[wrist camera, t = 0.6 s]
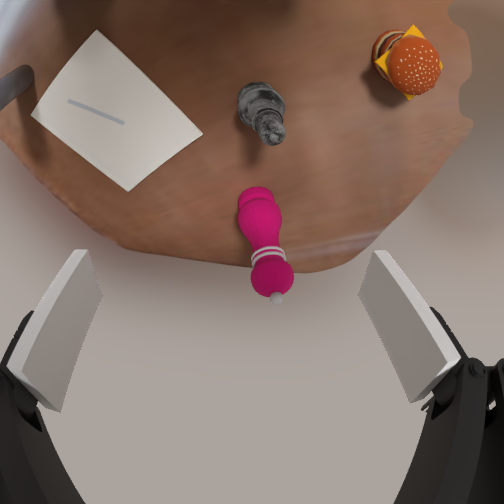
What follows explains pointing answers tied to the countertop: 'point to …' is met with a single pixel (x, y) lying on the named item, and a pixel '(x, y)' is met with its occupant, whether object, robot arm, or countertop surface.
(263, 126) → the chess piece
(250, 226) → the pepper mill
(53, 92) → the paper
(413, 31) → the hamburger
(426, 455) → the robot arm
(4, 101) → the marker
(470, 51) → the countertop surface
